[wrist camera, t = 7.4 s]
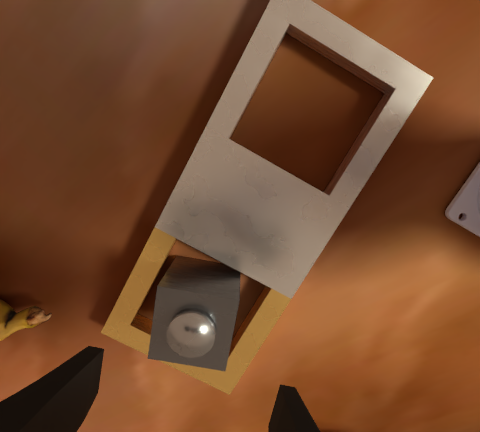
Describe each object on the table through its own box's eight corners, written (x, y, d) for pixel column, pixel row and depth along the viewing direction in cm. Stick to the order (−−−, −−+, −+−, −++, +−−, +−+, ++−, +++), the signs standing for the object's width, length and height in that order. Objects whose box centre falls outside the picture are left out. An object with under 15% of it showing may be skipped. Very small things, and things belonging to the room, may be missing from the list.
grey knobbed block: (240, 266, 22) (239, 305, 16) (229, 323, 23) (224, 379, 17) (176, 255, 22) (154, 291, 16) (168, 313, 23) (144, 365, 17)
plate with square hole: (418, 83, 19) (433, 77, 18) (230, 379, 24) (229, 394, 22) (277, -6, 18) (280, -19, 17) (110, 320, 23) (100, 332, 21)
